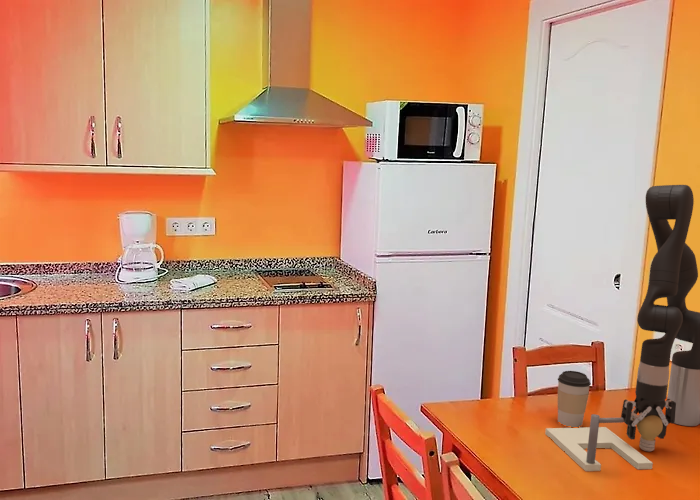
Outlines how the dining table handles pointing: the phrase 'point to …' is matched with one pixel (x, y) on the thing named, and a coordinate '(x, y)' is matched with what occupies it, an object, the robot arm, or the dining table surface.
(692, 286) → the robot arm
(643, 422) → the light bulb
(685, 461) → the dining table surface
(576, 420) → the coffee cup
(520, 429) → the dining table surface
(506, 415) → the dining table surface
